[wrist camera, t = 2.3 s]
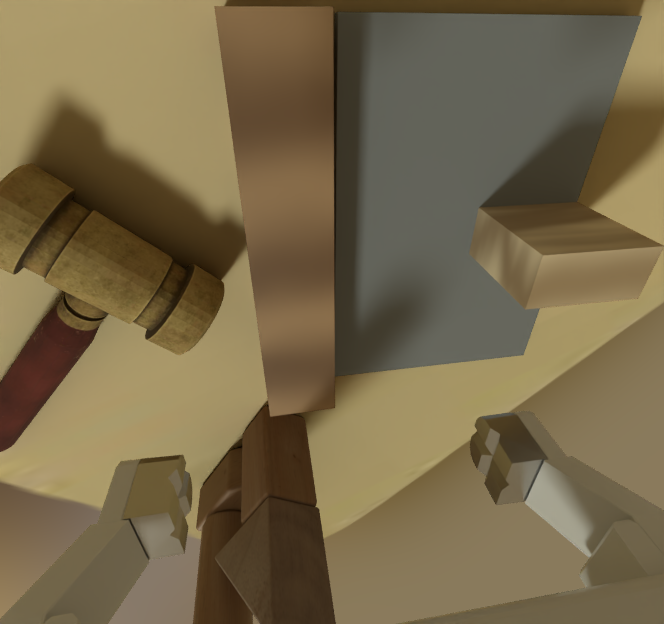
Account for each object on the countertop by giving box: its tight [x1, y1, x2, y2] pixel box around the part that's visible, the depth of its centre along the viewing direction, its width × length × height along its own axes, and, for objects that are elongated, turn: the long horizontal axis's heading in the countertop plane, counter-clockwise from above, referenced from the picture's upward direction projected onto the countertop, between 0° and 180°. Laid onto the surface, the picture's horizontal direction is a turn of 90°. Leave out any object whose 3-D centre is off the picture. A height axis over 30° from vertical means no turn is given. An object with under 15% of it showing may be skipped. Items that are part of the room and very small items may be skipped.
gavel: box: [0, 163, 224, 452], centre depth 23 cm, size 21×5×10 cm
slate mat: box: [334, 12, 642, 376], centre depth 23 cm, size 20×14×1 cm
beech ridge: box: [469, 202, 664, 310], centre depth 21 cm, size 3×6×6 cm, turn 90°
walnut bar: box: [215, 6, 335, 417], centre depth 21 cm, size 20×4×4 cm, turn 0°
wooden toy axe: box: [193, 406, 336, 624], centre depth 25 cm, size 4×11×18 cm, turn 145°
